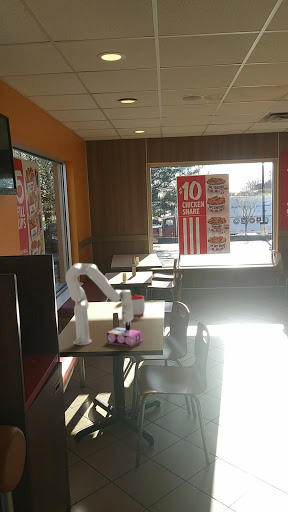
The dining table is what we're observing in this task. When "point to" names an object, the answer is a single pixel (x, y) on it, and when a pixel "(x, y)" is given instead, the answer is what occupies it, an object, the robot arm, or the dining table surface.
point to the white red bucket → (137, 305)
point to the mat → (126, 345)
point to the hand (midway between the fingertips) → (128, 329)
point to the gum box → (124, 336)
